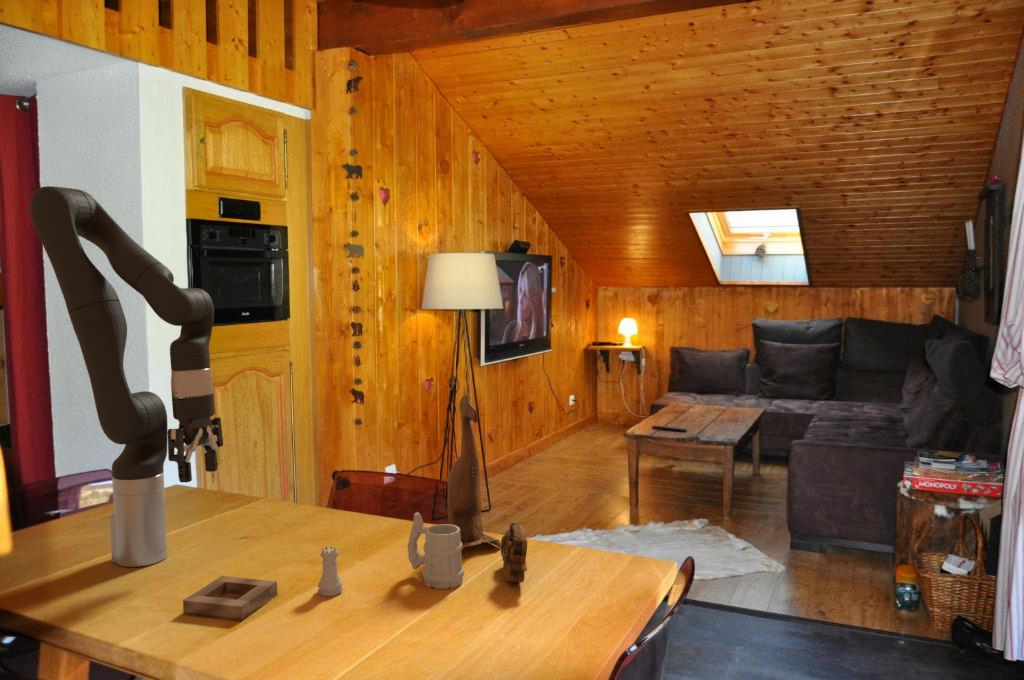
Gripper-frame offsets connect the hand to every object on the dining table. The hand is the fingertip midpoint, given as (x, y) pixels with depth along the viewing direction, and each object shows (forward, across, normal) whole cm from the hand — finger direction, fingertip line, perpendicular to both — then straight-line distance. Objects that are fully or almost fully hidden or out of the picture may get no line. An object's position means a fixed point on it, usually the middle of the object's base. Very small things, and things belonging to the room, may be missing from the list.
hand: (198, 476), depth 156 cm
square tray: (+19, +15, +15) cm, 28 cm away
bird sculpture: (+20, -21, +46) cm, 54 cm away
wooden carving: (+21, -6, +60) cm, 63 cm away
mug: (+20, -3, +45) cm, 50 cm away
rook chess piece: (+20, +7, +29) cm, 35 cm away
